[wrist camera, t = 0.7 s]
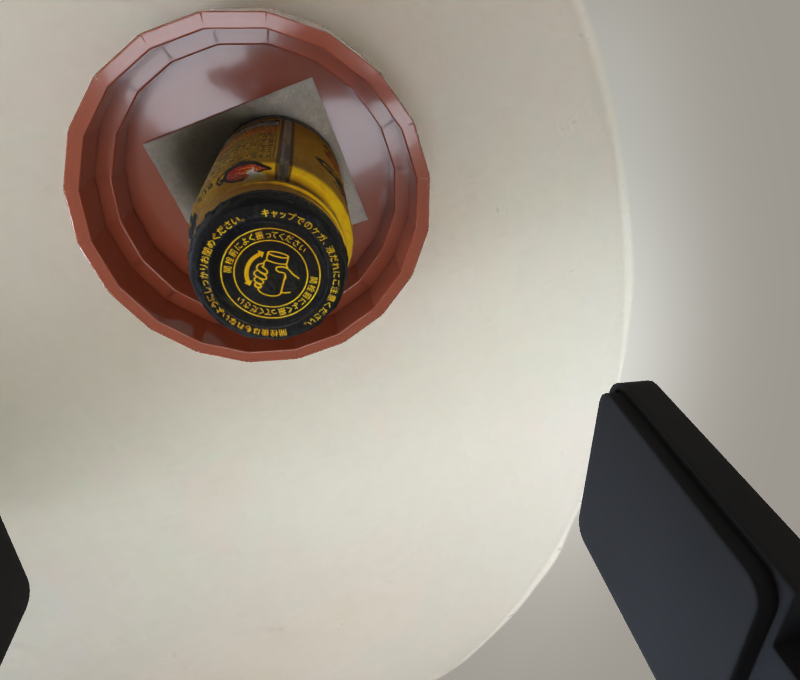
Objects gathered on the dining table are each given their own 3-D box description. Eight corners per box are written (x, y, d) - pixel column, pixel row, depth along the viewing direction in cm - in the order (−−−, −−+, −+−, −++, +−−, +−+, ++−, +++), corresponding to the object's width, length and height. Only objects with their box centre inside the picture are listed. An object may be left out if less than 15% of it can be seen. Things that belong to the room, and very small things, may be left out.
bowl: (62, 8, 26) (15, 10, 22) (414, 8, 28) (434, 10, 24) (135, 323, 34) (111, 372, 30) (410, 307, 36) (425, 350, 31)
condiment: (367, 218, 32) (399, 325, 22) (217, 276, 33) (178, 407, 22) (312, 75, 29) (318, 123, 18) (143, 142, 29) (56, 226, 19)
